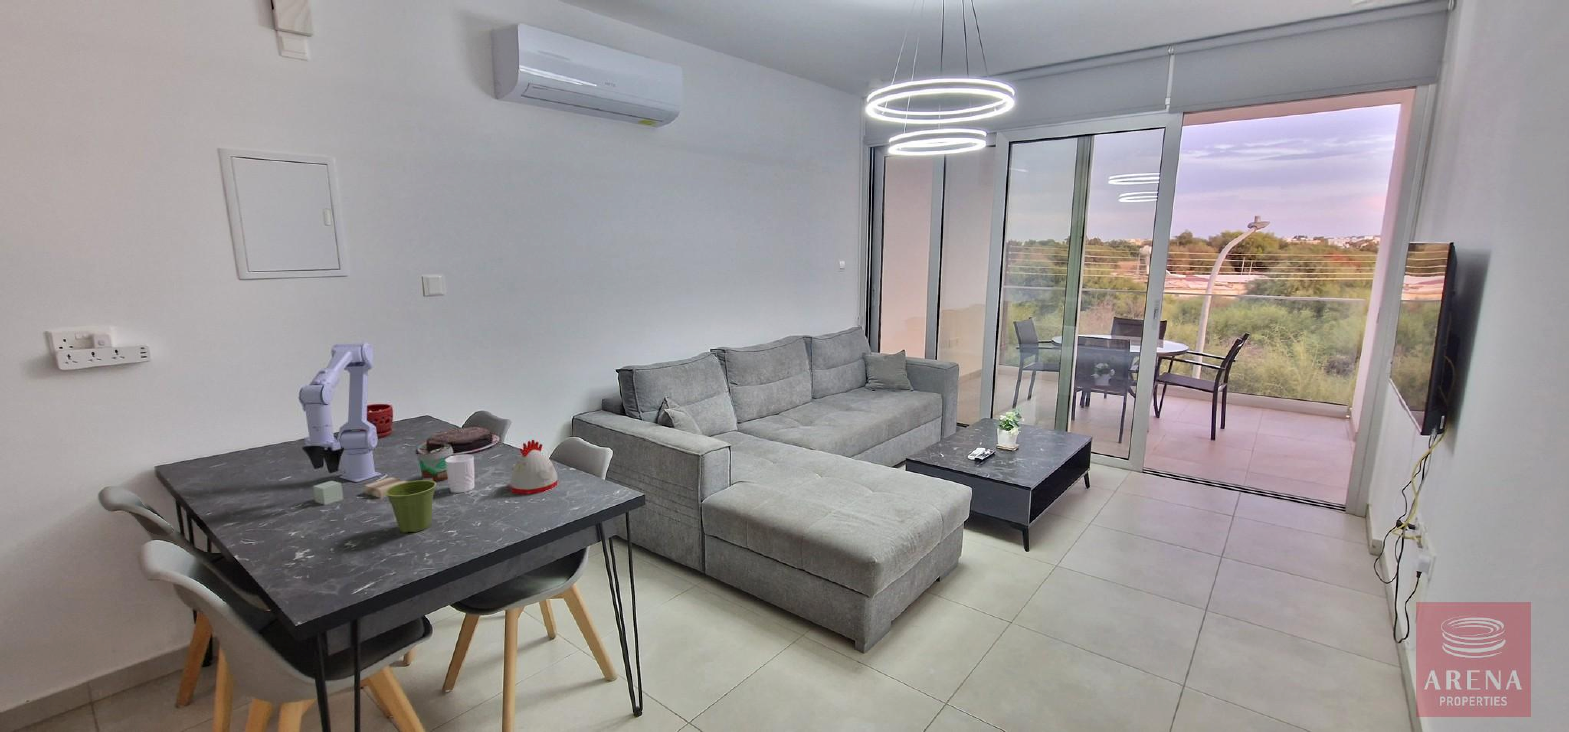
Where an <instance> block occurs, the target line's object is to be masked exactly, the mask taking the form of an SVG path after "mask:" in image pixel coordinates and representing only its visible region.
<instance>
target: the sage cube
mask: <svg viewBox="0 0 1569 732" xmlns="http://www.w3.org/2000/svg"><path fill="white" fill-rule="evenodd" d="M313 493H314V501H315V503H318V504H321V505H325V506H326V505H329V504H332V503H335V502H339V501H342V500H344V494H343V493H344V492H343V487H342V483H341V482H338V481H334V480H329V481H326V482H321V483H319V484H316V485H313Z"/></svg>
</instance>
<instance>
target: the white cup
mask: <svg viewBox="0 0 1569 732" xmlns="http://www.w3.org/2000/svg"><path fill="white" fill-rule="evenodd" d="M445 463H446V470H447V476H448V479H447V480H448V481H447V482H448V485H449V490H450V492H451V493H457V494H458V493H466V492H470V491H472V490H474V488H475V487H476V485H475V458H474V455H473V454H462V455H455V456H451V457H449V458H447V459H445Z"/></svg>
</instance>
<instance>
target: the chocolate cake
mask: <svg viewBox="0 0 1569 732" xmlns="http://www.w3.org/2000/svg"><path fill="white" fill-rule="evenodd" d="M500 439H501V438H500V437H499V436H498V435H495V434H492V433H491V431H490V429H487V428H485V427H482V426H476V427H475V426H473V427H472V426H471V427H468V426H467V427H462V428H456V427H455V428H454V429H447V430H440V431H438V432H437V433H435V434H432V435H431V436H430V437H428V438H427V439H426V442H423V443H422V444H421V445H418V447H417V452H418V453H419V454H426V453H428V452H430V451H431V450H435V449H439V448H441V447H444V444H449V445H450V446H451V447H452V449H453V453H452V454H451V456H455V455H462V454H469V455H471V454H470V453H472V454H476V453H479V452H480V451H481V452H484V451H483V450H485V449H486V450H487V449H490V447H491V448H494V447H495V446H496V445H497V444H496V443H498V444H499V443H500ZM493 446H494V447H493ZM486 450H485V451H486Z"/></svg>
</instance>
